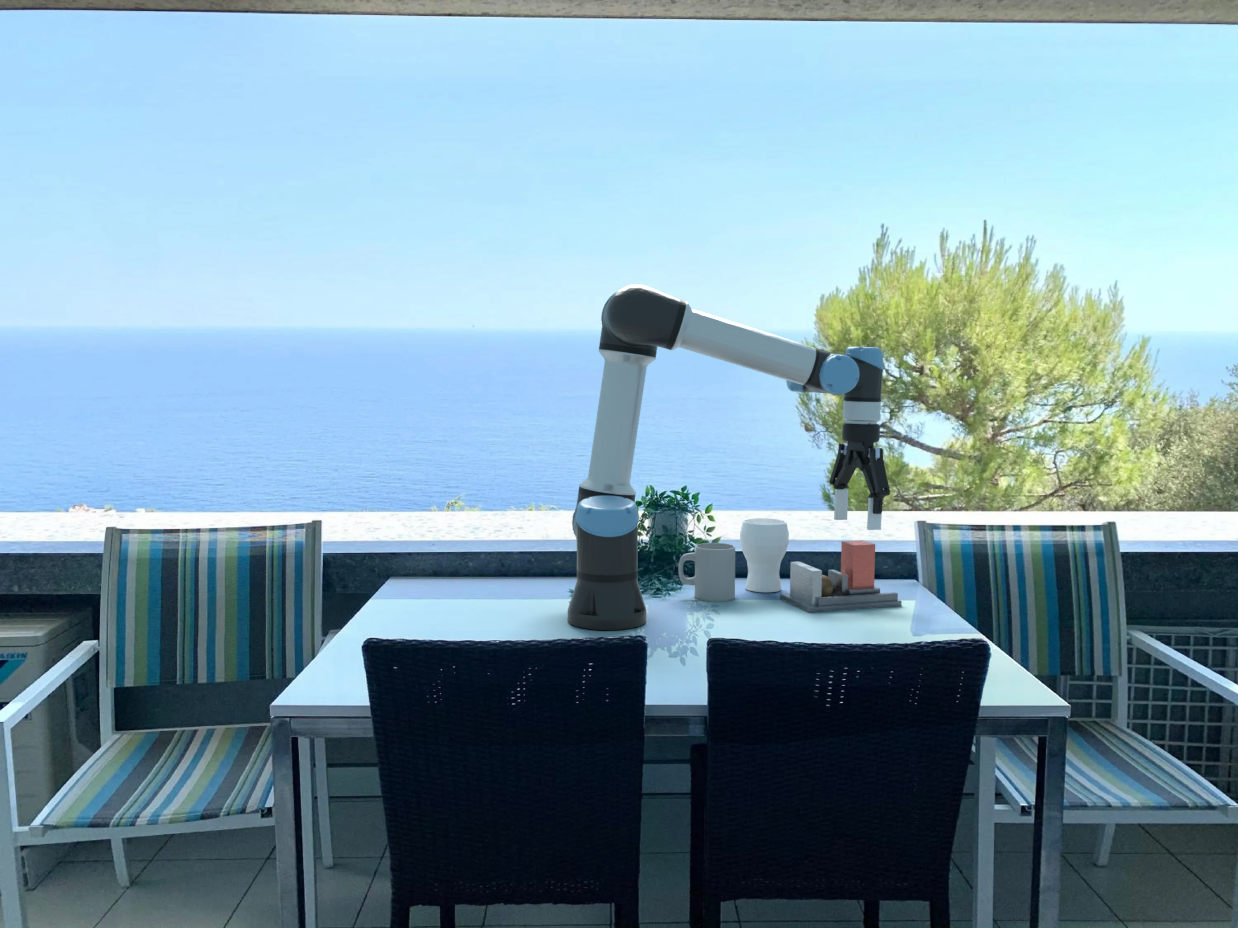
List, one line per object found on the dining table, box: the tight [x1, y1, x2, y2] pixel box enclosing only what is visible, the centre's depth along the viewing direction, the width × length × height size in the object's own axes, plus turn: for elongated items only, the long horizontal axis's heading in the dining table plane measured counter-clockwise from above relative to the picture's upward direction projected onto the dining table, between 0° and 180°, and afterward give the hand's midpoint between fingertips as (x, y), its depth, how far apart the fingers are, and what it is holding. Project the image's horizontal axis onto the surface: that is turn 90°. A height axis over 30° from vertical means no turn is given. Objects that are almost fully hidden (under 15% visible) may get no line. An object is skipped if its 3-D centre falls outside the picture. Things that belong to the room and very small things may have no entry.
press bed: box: [779, 561, 903, 613], centre depth 213 cm, size 21×13×8 cm, turn 107°
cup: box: [739, 517, 790, 593], centre depth 225 cm, size 11×11×15 cm
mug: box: [677, 542, 736, 603], centre depth 217 cm, size 12×8×11 cm
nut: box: [821, 574, 833, 597], centre depth 212 cm, size 5×5×5 cm
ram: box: [827, 539, 881, 596], centre depth 213 cm, size 8×8×11 cm
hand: (856, 524), depth 213 cm, fingers open, 13 cm apart
